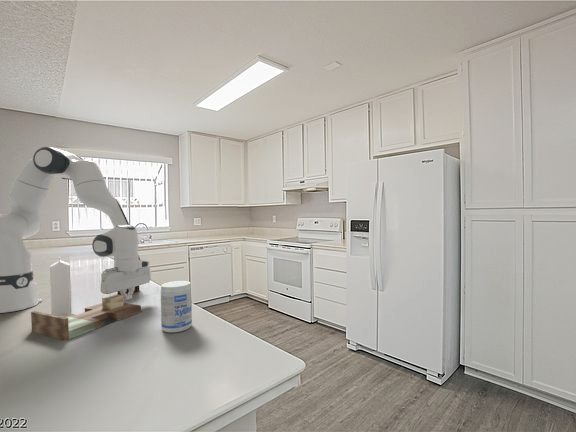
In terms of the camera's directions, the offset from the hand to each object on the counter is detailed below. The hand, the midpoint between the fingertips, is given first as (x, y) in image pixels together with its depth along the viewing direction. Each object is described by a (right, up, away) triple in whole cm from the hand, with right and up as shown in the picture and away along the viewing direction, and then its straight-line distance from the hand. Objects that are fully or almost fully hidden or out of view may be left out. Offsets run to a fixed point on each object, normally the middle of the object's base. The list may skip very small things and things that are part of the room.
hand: (127, 299), depth 120 cm
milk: (-22, -4, -6) cm, 23 cm away
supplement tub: (+28, -4, -21) cm, 35 cm away
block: (-3, -1, -6) cm, 6 cm away
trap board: (-6, -4, -14) cm, 15 cm away
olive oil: (-13, -4, +25) cm, 28 cm away
